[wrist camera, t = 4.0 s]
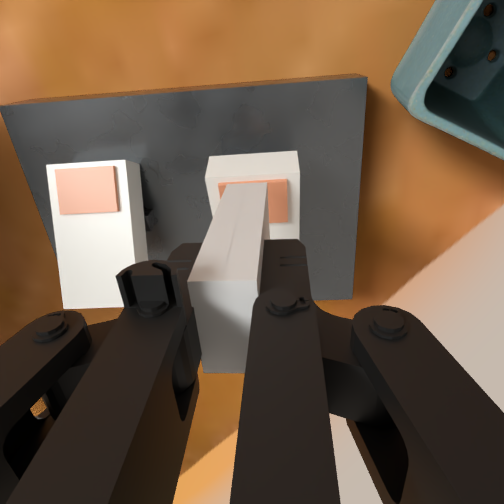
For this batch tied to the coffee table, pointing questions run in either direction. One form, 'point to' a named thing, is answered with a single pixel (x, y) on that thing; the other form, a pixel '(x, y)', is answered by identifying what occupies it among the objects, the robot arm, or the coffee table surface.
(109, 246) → the block
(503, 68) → the flower pot
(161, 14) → the coffee table surface
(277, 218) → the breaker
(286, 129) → the breaker panel
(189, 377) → the robot arm
